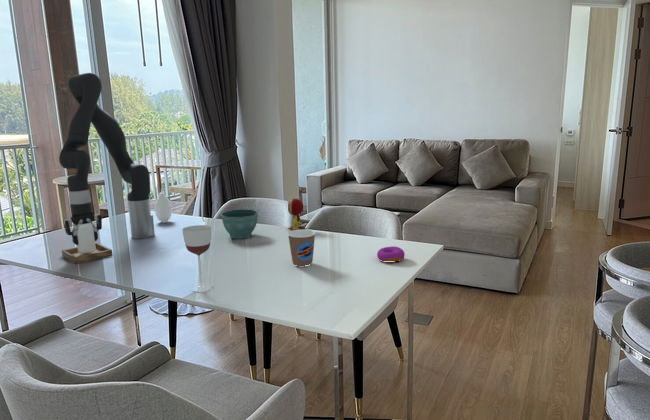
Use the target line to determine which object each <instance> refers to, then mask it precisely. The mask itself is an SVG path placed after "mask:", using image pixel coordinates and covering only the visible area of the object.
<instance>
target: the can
mask: <svg viewBox="0 0 650 420" xmlns="http://www.w3.org/2000/svg"><path fill="white" fill-rule="evenodd" d="M75 228H76V225H75ZM77 237H78V245H76V247H77V248H78V252H79V253H81V254H86V253H91V252H94V251H95V250H96V246H95V243H96V241H95V238H94V230H93V226H92V224H91V222H89V223H84V224H79V227H78V230H77Z"/></svg>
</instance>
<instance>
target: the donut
mask: <svg viewBox="0 0 650 420" xmlns="http://www.w3.org/2000/svg"><path fill="white" fill-rule="evenodd" d="M405 254H406V253H405V251H404V250H403V248H401V247H398V246H395V245H393V246H385V247H382V248H380V249H378V251H377V253H376V256H377V258H378V260H379V259H380V260H382V261H398V260H401V259H402V260H404V259H405ZM380 260H379V261H380ZM402 260H401V261H402Z"/></svg>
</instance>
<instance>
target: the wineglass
mask: <svg viewBox="0 0 650 420" xmlns="http://www.w3.org/2000/svg"><path fill="white" fill-rule="evenodd" d="M181 230H182V235H183V240H184V243H185V247H186V250H187V251H188V252H189V253H191V254H194V255H197V263H198V276H199V277H198V278H199V284H200V286H198V287H204V286H202V284H203V277H202V276H203V275H202V264H201V263H202V262H201V255H203V254H204V253H206V252H207V251H208V250H209V249H210V246H211V239H212V227H211V226H210V225H205V224H203V225H202V224H201V225H200V224H198V225H197V224H196V225H189V226H185V227H183V228H182V229H181Z"/></svg>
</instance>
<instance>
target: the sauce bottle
mask: <svg viewBox="0 0 650 420" xmlns="http://www.w3.org/2000/svg"><path fill="white" fill-rule="evenodd" d="M171 205H172V204H171V201H170V200H169V198H168V196H167V195H166V194H165V192H163V189H162V187H161V188H160V192H159V193H158V196H157V198H156V201H155V205H154V212H155V216H156V218H157V220H158V221H159V222H160V223H163V224H164V223H165V224H166V223H167V222H169V220H170V219H171V217H172V213H173V212H172V210H173V209H172V206H171Z"/></svg>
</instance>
